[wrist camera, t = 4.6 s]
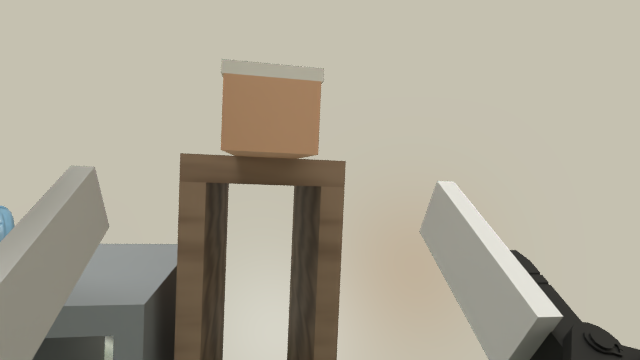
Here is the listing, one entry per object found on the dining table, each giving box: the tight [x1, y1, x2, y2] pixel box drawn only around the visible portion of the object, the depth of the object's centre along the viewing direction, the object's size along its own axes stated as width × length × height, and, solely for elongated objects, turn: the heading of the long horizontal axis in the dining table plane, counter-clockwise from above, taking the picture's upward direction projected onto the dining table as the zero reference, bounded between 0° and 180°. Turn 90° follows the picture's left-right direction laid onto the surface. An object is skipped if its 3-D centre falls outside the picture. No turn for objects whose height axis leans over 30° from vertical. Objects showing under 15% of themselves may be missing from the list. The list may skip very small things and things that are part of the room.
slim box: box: [221, 59, 324, 159], centre depth 29 cm, size 26×5×4 cm, turn 10°
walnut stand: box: [174, 153, 345, 360], centre depth 36 cm, size 20×12×28 cm, turn 10°
